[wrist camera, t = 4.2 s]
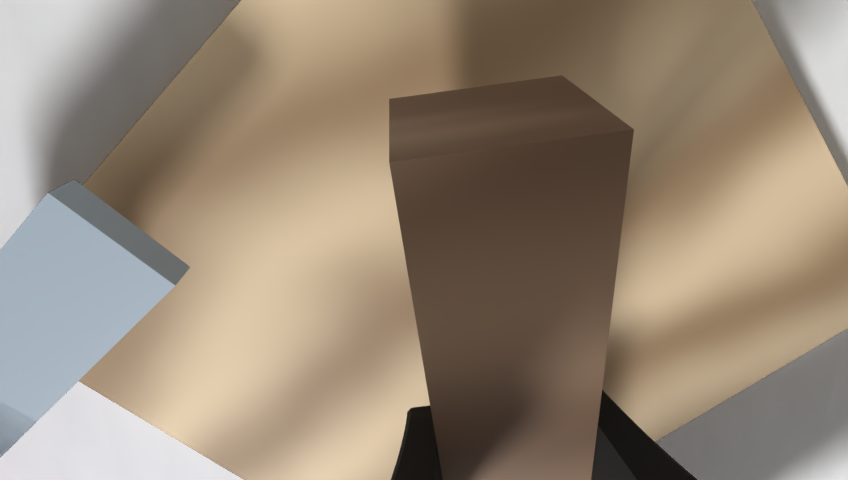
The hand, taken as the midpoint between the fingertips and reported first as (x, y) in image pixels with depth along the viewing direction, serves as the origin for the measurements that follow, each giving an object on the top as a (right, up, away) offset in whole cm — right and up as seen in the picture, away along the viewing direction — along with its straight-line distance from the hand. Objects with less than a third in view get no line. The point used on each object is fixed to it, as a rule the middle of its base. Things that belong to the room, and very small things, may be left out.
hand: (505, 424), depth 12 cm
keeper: (-11, +4, +2) cm, 12 cm away
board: (-1, +3, +4) cm, 5 cm away
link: (0, 0, +2) cm, 2 cm away
